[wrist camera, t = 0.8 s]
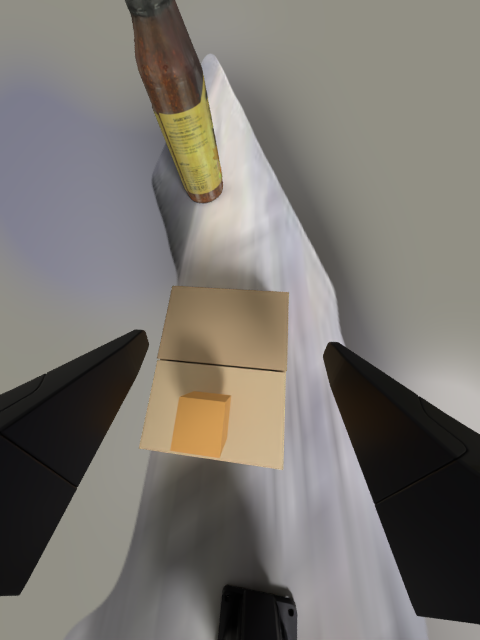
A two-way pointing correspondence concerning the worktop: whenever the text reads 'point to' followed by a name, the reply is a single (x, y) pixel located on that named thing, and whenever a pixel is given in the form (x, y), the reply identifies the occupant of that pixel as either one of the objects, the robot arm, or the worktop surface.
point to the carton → (226, 328)
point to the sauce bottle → (177, 94)
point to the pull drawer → (217, 413)
